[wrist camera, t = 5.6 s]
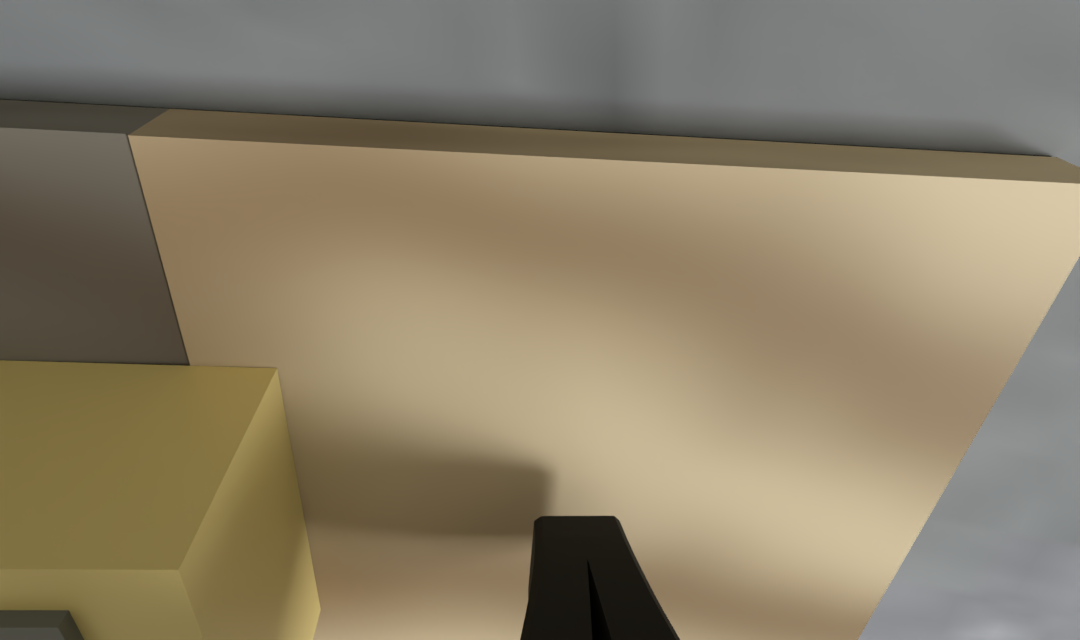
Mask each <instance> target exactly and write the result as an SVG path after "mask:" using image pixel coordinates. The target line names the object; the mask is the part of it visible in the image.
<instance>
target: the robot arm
mask: <svg viewBox="0 0 1080 640" xmlns="http://www.w3.org/2000/svg"><path fill="white" fill-rule="evenodd" d="M520 640H680V638H679V637H678V635H677V633H676V631H675V630H674V628H673V626H672V625H671V623H670V621H669V619H668V618H667V616H666V614H665V612H664V611H663V609H662V607H661V605H660V603H659V602H658V600H657V598H656V596H655V594H654V592H653V590H652V588H651V586H650V585H649V583H648V581H647V579H646V577H645V575H644V573H643V571H642V569H641V567H640V565H639V563H638V561H637V559H636V557H635V555H634V552H633V550H632V548H631V546H630V544H629V542H628V539H627V537H626V535H625V532H624V530H623V528H622V525H621V523H620V521H619V520H618V519H617V518H616V517H615V516H541V517H539V518H538V519H536V520H535V521H534V528H533V539H532V551H531V562H530V574H529V585H528V604H527V609H526V614H525V619H524V623H523V628H522V633H521V638H520Z"/></svg>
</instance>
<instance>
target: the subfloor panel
mask: <svg viewBox="0 0 1080 640" xmlns="http://www.w3.org/2000/svg"><path fill="white" fill-rule="evenodd" d="M1079 256H1080V167H1077V166H1075V165H1073V164H1071V163H1068V162H1066V161H1064V160H1062V159H1060V158H1057V157H1043V156H1025V155H1007V154H988V153H970V152H952V151H933V150H915V149H897V148H879V147H860V146H842V145H824V144H805V143H787V142H769V141H751V140H732V139H714V138H696V137H677V136H659V135H641V134H622V133H604V132H586V131H568V130H549V129H531V128H513V127H494V126H476V125H458V124H439V123H421V122H403V121H385V120H366V119H348V118H330V117H311V116H293V115H275V114H257V113H238V112H220V111H202V110H183V109H165V108H147V107H128V106H110V105H92V104H74V103H55V102H37V101H19V100H0V360H7V361H42V362H77V363H112V364H146V365H181V366H216V367H251V368H277V370H278V376H279V381H280V387H281V392H282V398H283V404H284V409H285V415H286V420H287V426H288V431H289V437H290V442H291V448H292V453H293V459H294V464H295V470H296V475H297V481H298V487H299V492H300V498H301V503H302V509H303V514H304V520H305V525H306V531H307V536H308V542H309V547H310V553H311V558H312V564H313V570H314V575H315V581H316V586H317V592H318V597H319V603H320V608H321V610H320V614H319V618H318V622H317V626H316V630H315V634H314V637H313V640H520V638H521V633H522V628H523V623H524V619H525V614H526V609H527V604H528V585H529V574H530V562H531V551H532V539H533V528H534V521H535V520H536V519H538V518H539V517H541V516H615V517H616V518H617V519H618V520H619V521H620V523H621V525H622V528H623V530H624V532H625V535H626V537H627V539H628V542H629V544H630V546H631V548H632V550H633V552H634V555H635V557H636V559H637V561H638V563H639V565H640V567H641V569H642V571H643V573H644V575H645V577H646V579H647V581H648V583H649V585H650V586H651V588H652V590H653V592H654V594H655V596H656V598H657V600H658V602H659V603H660V605H661V607H662V609H663V611H664V612H665V614H666V616H667V618H668V619H669V621H670V623H671V625H672V626H673V628H674V630H675V631H676V633H677V635H678V637H679V638H680V640H858V638H859V636H860V635H861V633H862V631H863V629H864V628H865V626H866V624H867V623H868V621H869V619H870V617H871V616H872V614H873V612H874V610H875V609H876V607H877V605H878V604H879V602H880V600H881V598H882V597H883V595H884V593H885V591H886V590H887V588H888V586H889V585H890V583H891V581H892V579H893V578H894V576H895V574H896V572H897V571H898V569H899V567H900V566H901V564H902V562H903V560H904V559H905V557H906V555H907V553H908V552H909V550H910V548H911V547H912V545H913V543H914V541H915V540H916V538H917V536H918V534H919V533H920V531H921V529H922V528H923V526H924V524H925V522H926V521H927V519H928V517H929V515H930V514H931V512H932V510H933V509H934V507H935V505H936V503H937V502H938V500H939V498H940V496H941V495H942V493H943V491H944V490H945V488H946V486H947V484H948V483H949V481H950V479H951V477H952V476H953V474H954V472H955V471H956V469H957V467H958V465H959V464H960V462H961V460H962V458H963V457H964V455H965V453H966V452H967V450H968V448H969V446H970V445H971V443H972V441H973V439H974V438H975V436H976V434H977V433H978V431H979V429H980V427H981V426H982V424H983V422H984V420H985V419H986V417H987V415H988V414H989V412H990V410H991V408H992V407H993V405H994V403H995V401H996V400H997V398H998V396H999V395H1000V393H1001V391H1002V389H1003V388H1004V386H1005V384H1006V382H1007V381H1008V379H1009V377H1010V375H1011V374H1012V372H1013V370H1014V369H1015V367H1016V365H1017V363H1018V362H1019V360H1020V358H1021V356H1022V355H1023V353H1024V351H1025V350H1026V348H1027V346H1028V344H1029V343H1030V341H1031V339H1032V337H1033V336H1034V334H1035V332H1036V331H1037V329H1038V327H1039V325H1040V324H1041V322H1042V320H1043V318H1044V317H1045V315H1046V313H1047V312H1048V310H1049V308H1050V306H1051V305H1052V303H1053V301H1054V299H1055V298H1056V296H1057V294H1058V293H1059V291H1060V289H1061V287H1062V286H1063V284H1064V282H1065V280H1066V279H1067V277H1068V275H1069V274H1070V272H1071V270H1072V268H1073V267H1074V265H1075V263H1076V261H1077V260H1078V258H1079Z"/></svg>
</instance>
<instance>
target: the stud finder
mask: <svg viewBox="0 0 1080 640" xmlns="http://www.w3.org/2000/svg"><path fill="white" fill-rule="evenodd" d="M320 610H321V608H320V603H319V597H318V592H317V586H316V581H315V575H314V570H313V564H312V558H311V553H310V547H309V542H308V536H307V531H306V525H305V520H304V514H303V509H302V503H301V498H300V492H299V487H298V481H297V475H296V470H295V464H294V459H293V453H292V448H291V442H290V437H289V431H288V426H287V420H286V415H285V409H284V404H283V398H282V392H281V387H280V381H279V376H278V370H277V368H251V367H216V366H181V365H146V364H112V363H77V362H42V361H7V360H0V640H313V637H314V634H315V630H316V626H317V622H318V618H319V614H320Z"/></svg>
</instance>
